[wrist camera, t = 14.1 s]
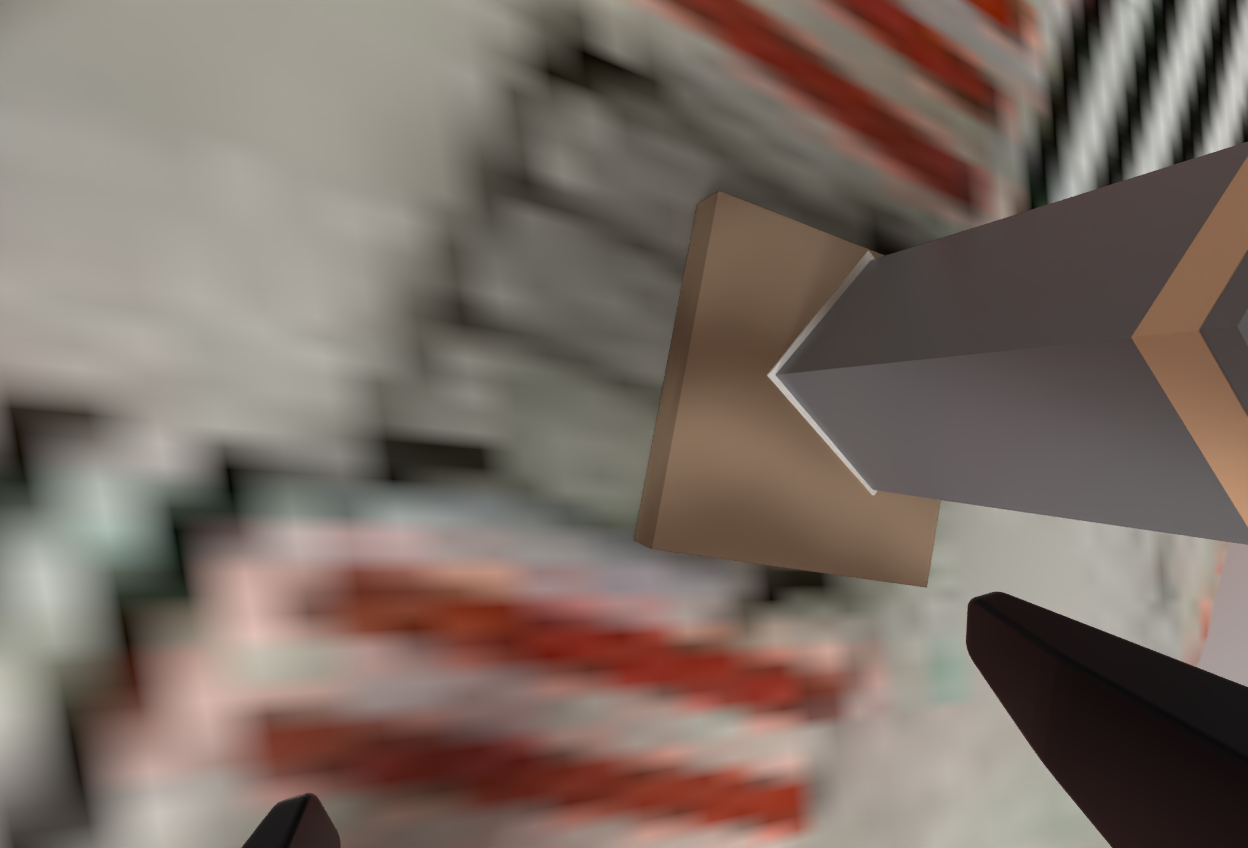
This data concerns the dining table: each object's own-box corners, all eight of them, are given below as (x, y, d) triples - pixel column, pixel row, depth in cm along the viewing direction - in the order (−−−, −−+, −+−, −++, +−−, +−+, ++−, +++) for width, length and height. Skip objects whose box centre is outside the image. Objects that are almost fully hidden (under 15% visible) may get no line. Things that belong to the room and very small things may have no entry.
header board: (897, 578, 26) (987, 606, 22) (633, 540, 22) (689, 566, 18) (942, 296, 27) (1036, 276, 23) (697, 204, 22) (763, 160, 19)
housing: (872, 491, 23) (1366, 564, 12) (774, 375, 22) (1235, 326, 10) (956, 376, 25) (1467, 340, 13) (870, 259, 23) (1367, 101, 12)
